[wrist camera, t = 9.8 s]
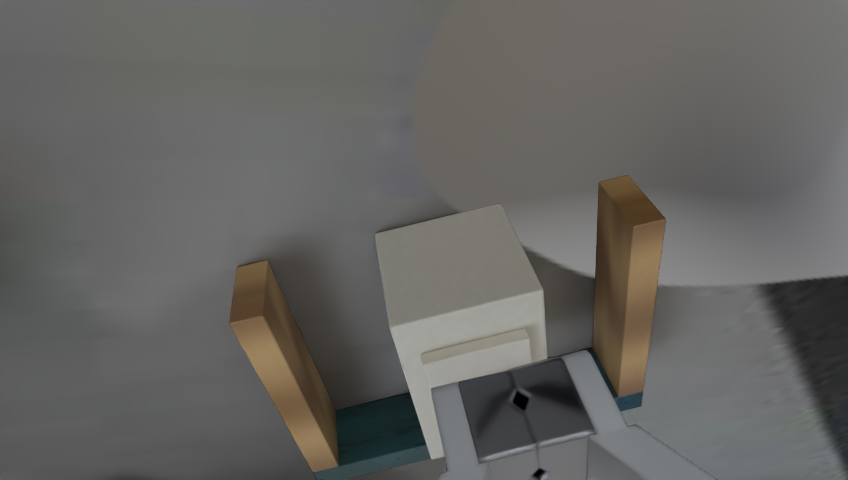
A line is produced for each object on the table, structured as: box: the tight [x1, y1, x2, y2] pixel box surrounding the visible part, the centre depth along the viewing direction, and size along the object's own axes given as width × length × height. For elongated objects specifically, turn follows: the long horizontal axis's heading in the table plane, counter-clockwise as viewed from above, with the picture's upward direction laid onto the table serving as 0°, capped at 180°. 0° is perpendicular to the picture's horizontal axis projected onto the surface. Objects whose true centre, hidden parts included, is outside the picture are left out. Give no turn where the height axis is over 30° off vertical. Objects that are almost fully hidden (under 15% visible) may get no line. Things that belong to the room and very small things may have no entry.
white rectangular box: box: [375, 203, 547, 459], centre depth 21 cm, size 8×5×7 cm, turn 10°
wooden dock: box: [229, 175, 666, 480], centre depth 24 cm, size 11×15×3 cm
